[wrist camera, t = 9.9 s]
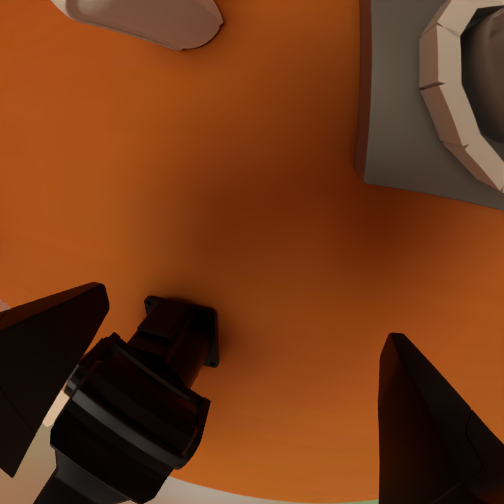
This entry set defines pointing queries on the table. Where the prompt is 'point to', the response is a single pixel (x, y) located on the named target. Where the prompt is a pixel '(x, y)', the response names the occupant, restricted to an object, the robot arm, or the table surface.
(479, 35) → the grey rounded block
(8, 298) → the table surface
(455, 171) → the gray ring-topped block
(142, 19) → the white rounded device
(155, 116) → the table surface
